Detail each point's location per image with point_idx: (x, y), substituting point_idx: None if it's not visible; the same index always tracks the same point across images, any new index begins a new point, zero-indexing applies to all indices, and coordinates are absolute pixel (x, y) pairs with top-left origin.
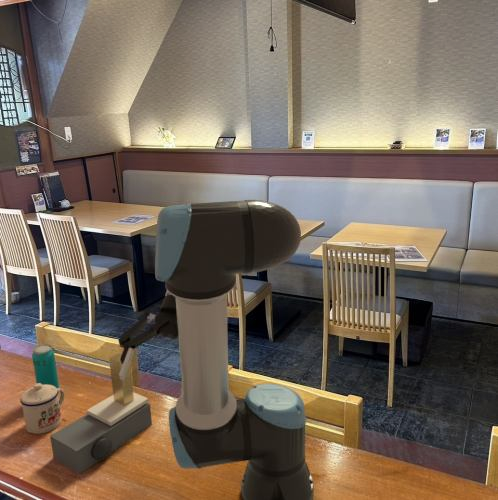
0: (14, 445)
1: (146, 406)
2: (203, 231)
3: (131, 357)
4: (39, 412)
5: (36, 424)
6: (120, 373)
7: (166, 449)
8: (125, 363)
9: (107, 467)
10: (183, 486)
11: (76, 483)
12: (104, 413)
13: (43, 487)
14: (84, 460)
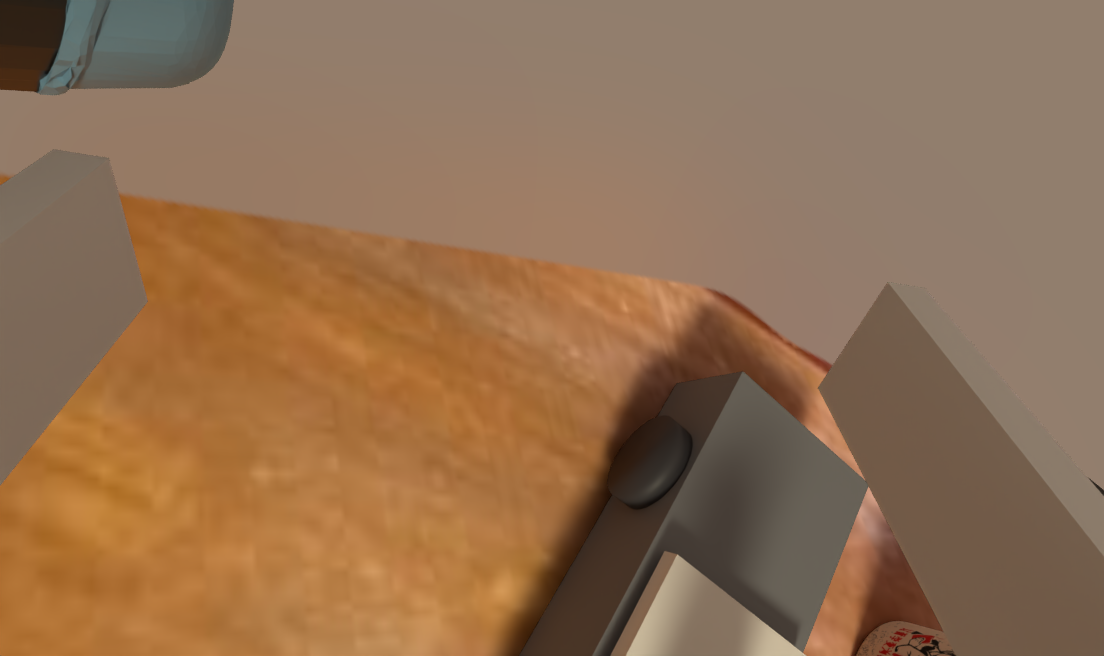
0: None
1: None
2: None
3: (982, 632)
4: None
5: (928, 632)
6: (925, 298)
7: (353, 535)
8: (993, 396)
9: (592, 415)
10: (244, 266)
11: (671, 336)
12: (728, 639)
13: (759, 329)
14: (689, 400)
